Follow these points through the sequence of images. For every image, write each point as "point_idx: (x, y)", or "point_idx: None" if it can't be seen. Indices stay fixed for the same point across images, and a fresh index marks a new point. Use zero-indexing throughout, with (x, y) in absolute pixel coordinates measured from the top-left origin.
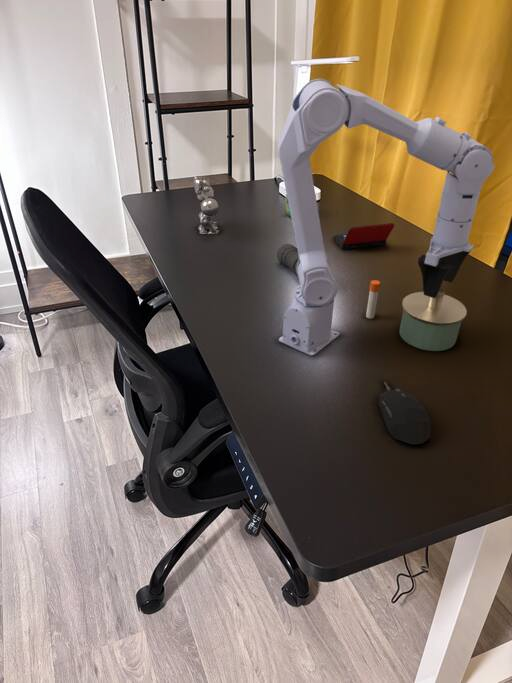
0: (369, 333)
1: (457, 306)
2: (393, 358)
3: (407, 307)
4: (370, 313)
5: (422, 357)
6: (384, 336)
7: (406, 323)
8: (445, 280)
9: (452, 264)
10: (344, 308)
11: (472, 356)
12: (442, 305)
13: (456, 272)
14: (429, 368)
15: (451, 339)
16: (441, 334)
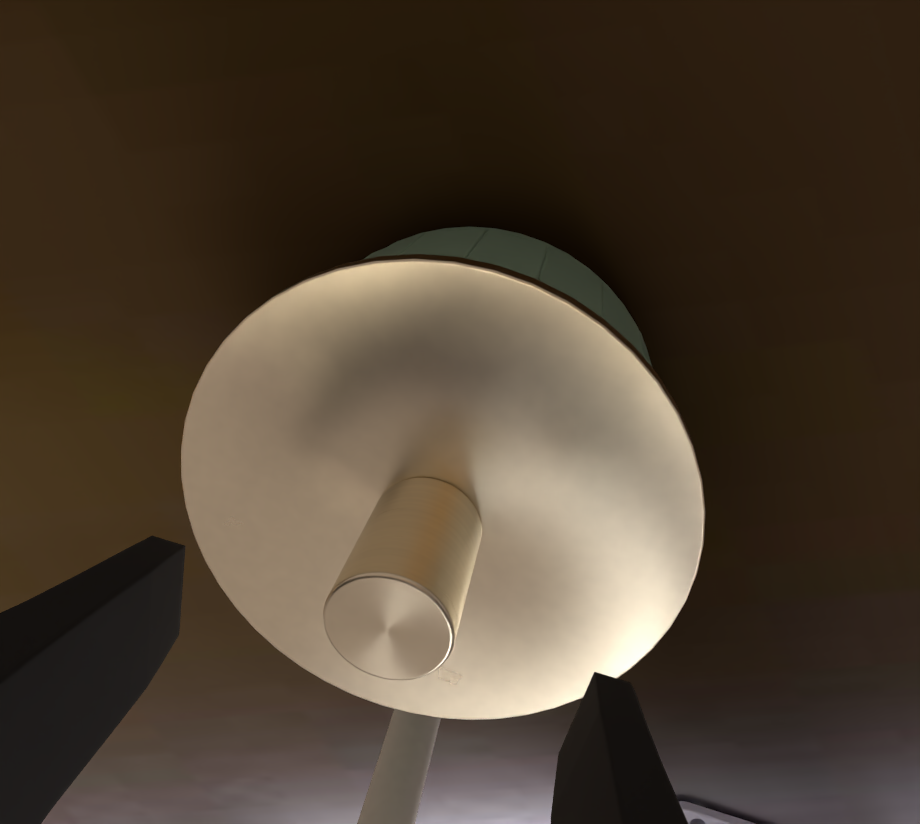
0: None
1: (327, 348)
2: (815, 551)
3: (536, 689)
4: (439, 720)
5: (748, 404)
6: None
7: None
8: (177, 599)
9: (25, 739)
10: None
11: (612, 84)
12: (376, 466)
13: (94, 611)
14: (870, 350)
15: (574, 277)
16: None
